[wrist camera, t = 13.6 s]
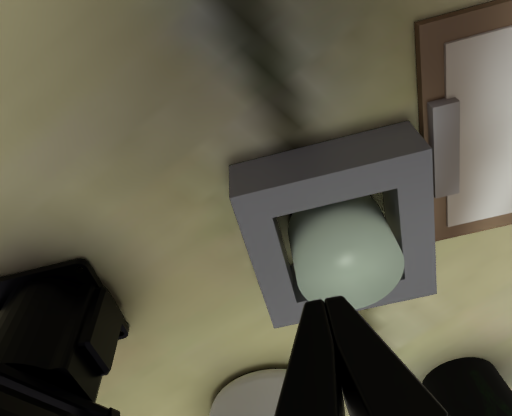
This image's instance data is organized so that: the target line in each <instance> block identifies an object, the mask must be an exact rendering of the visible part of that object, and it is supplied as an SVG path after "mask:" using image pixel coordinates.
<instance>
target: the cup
mask: <svg viewBox="0 0 512 416" xmlns="http://www.w3.org/2000/svg"><path fill="white" fill-rule="evenodd" d="M422 384H423V385H424V386H425V388H426V389H427V390H428V391H429V392H430V393H431V394H432V395H433V397H434V398H435V399H436V400H437V401H438V402H439V403H440V404H441V405H442V407H443V408H444V409H445V410H446V411H447V412H448V416H512V391H511V389H510V388H509V387H508V385H507V384H506V382H505V381H504V380H503V378H502V377H501V375H500V374H499V373H498V371H497V370H496V368H495V367H494V366H493V365H492V364H491V363H490V362H489V361H486V360H484V359H480V358H461V359H456V360H452V361H449V362H446V363H444V364H442V365H440V366H438V367H437V368H435V369H434V370H432V371H431V372H430V373H429V374H428V375H427V376H426V377H425V379H424V381H423V383H422Z"/></svg>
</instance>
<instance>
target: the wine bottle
mask: <svg viewBox="0 0 512 416" xmlns="http://www.w3.org/2000/svg"><path fill="white" fill-rule="evenodd" d="M286 370H287V369H267V370H260V371H256V372H252V373H248V374H246V375H243V376H241V377H239V378H237V379H235V380H233V381H232V382H230V383H229V384H228V385H226V386H225V387H224V388H223V389H222V390H221V391H220V392H219V393H218V395H217V396H216V398H215V400H214V402H213V404H212V406H211V410H210V414H209V416H274V415H275V411H276V407H277V403H278V400H279V396H280V392H281V389H282V385H283V381H284V377H285V374H286Z"/></svg>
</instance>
